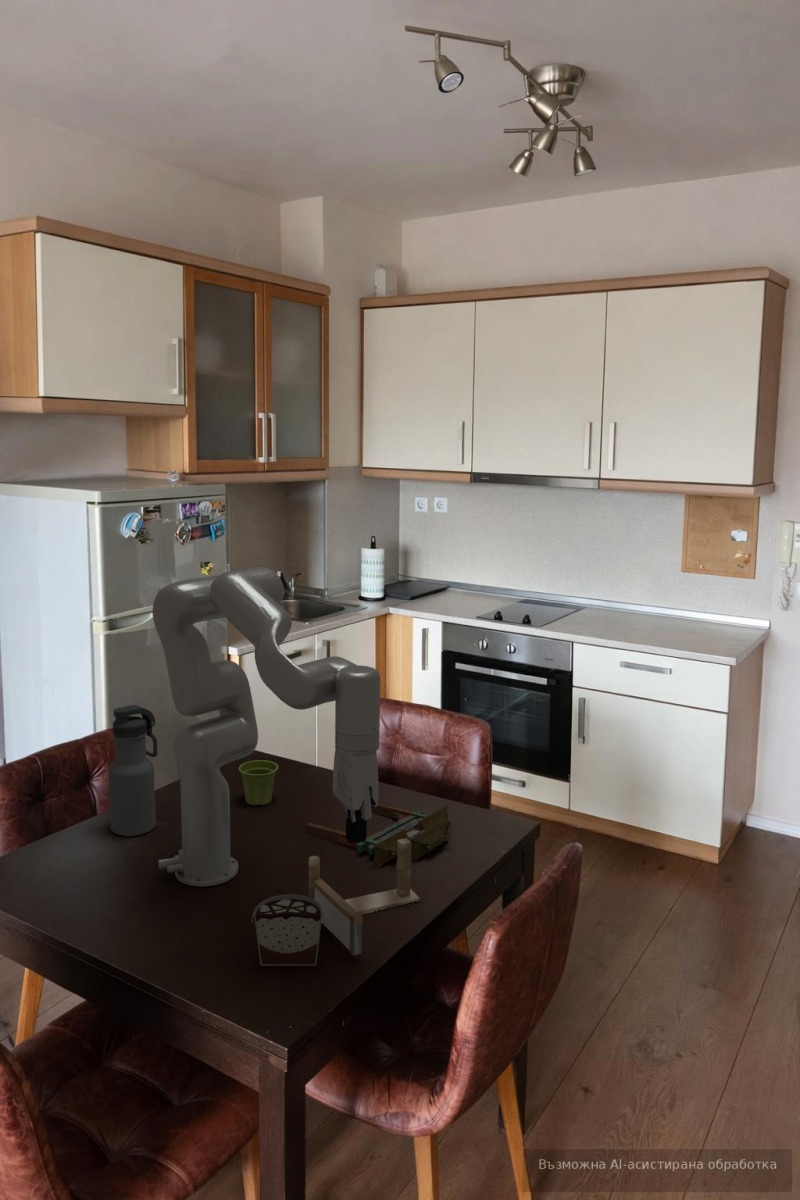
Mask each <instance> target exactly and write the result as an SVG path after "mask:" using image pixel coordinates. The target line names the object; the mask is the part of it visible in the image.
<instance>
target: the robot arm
mask: <svg viewBox="0 0 800 1200" xmlns="http://www.w3.org/2000/svg"><path fill="white" fill-rule="evenodd" d="M284 593H285V587H284V584H283V581H282V579H281V578H280V576H279V575H278V574H277V572H275V571H274V570H272V569H271V568H269V567H266V566H255V567H254V566H253V567H249V568H240V569H239V568H238V569H234V570H229V571H226V572H223V573H221V574H216V575H211V576H204V577H203V576H202V577H196V578H187V579H184V580H180V581H179V580H178V581H175V582H172V583H170V584H167V585H165V586H163V587H162V588H161V589H160V590H159V591H158V592H157V594H156V595H155V597H154V600H153V604H152V620H153V625H154V627H155V629H156V633H157V635H158V638H159V640H160V643H161V645H162V649H163V652H164V657H165V664H166V669H167V676H168V681H169V685H170V691H171V695H172V700H173V705H174V706H175V709H176V710H177V712H178V713H179V714H180V715H182V716H184V717H196V716H201V715H205V714H208V713H212V712H214V711H218V713H219V716H215V717H212V718H208V719H205V720H201V721H198V722H195V723H193V724H190V725H187V726H186V727H185V728H183V729H182V730H181V731H179V733H178V734H177V735H176V737H175V739H174V742H173V749H174V750H173V751H174V757H175V761H176V765H177V771H178V776H179V787H180V809H181V810H180V812H181V814H180V816H181V818H180V820H181V847H182V849H178V854H177V855H176V854H175V855H174V856H173V857H171V858H167V857H166V858H161V859H158V862H157V863H158V869H159V870H165V869H166V871H167V873H174V875H175V879H177V880H178V882H180V883H182V884H185V885H187V886H192V887H211V886H212V887H214V886H218V885H221V884H223V883H227V882H228V881H231V880H232V879H233V878H235V877H236V876H237V875H238V873H239V862H238V861H237V859H235V858H234V857H233V856H231V855H232V854H231V805H230V804H231V801H230V799H231V798H230V788H229V787H230V786H229V783H228V782H227V779H226V778H225V777H224V775H223V774H222V772H221V770H220V768H221V767H223V766H225V765H227V764H230V763H232V762H235V761H238V760H240V759H243V758H246V757H248V756H249V755H251V754H252V753H254V751H255V750H256V748H257V746H258V741H259V729H258V725H257V717H256V713H255V712H256V711H255V706H254V703H253V702H254V701H253V696H252V690H251V686H250V681H249V679H248V677H247V674H246V672H245V670H244V669H243V668H242V666H241V665H239V664H238V663H237V662H235V661H233V660H228V659H227V660H225V659H222V660H216V661H214V662H212V660H211V659H212V658H211V655H210V647H209V644H208V642H207V640H206V638H205V637H204V635H203V634H202V633H201V631H200V630H199V629H198V628H197V627H196V626H195V624H197V623H201V622H207V621H213V620H218V619H222V618H223V619H226V620H227V621H228V622H229V623H230V624H231V625H233V627H234V628H236V630H237V631H238V632H240V634H241V635H242V636H243V637H244V638H245V639H246V640H247V641H249V643H250V644H252V645H253V646H254V662H255V665H256V670H257V673H258V674H259V677H260V679H261V681H262V682H263V683H264V685H265V687H267V688H268V689H269V690H270V691H271V692H272V693H273V694H274V695H275V696H276V697H277V698H278V699H279V700H280V701H281V702H283V703H284V704H285V705H287V706H288V707H289V708H292V709H295V710H300V711H303V710H307V709H308V710H309V709H311V708H315V707H317V706H320V705H322V704H326V703H331V702H335V705H334V706H335V708H334V709H335V710H334V711H335V712H334V713H335V714H334V715H335V720H334V721H335V722H334V727H335V728H334V733H335V735H334V749H335V751H334V756H333V769H332V770H333V772H332V793H333V794H334V796H335V798H337V799H338V800H339V802H341V803H342V804H343V806H344V814H345V817H346V818H345V832H346V839H347V840H348V842H349V843H355V842H361V841H365V840H366V836H367V824H368V823H367V821H368V820H369V819H372V816H373V813H372V811H371V807H372V808H375V807H376V806H377V804H378V803H379V767H378V765H379V764H378V755H377V754H378V753H377V751H378V750H380V728H381V726H380V723H381V720H380V719H381V674H380V672H379V671H378V670H377V669H376V668H375V667H371V666H366V665H357V664H356V663H354V662H351V661H350V660H348V659H346V658H343V657H340V656H328V657H324V658H320V659H315V660H312V661H308V662H305V663H301V664H296V663H295V662H294V661H293V660H291V659H290V658H289V657H288V655H286V654H285V653H284V651H283V650H281V648H280V645H281V644H283V642H284V641H285V640H286V638H287V637H288V636H289V634H290V632H291V630H292V625H293V618H292V616H291V614H290V613H289V612H288V611H287V610H286V609H285V608H283V606H281V605H280V604H281V603H282V601H283V599H284V595H285V594H284Z"/></svg>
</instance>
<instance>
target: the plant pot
mask: <svg viewBox="0 0 800 1200" xmlns="http://www.w3.org/2000/svg"><path fill="white" fill-rule="evenodd" d="M278 770H279V765H278V764H277V763H276V762H274V761H270V760H264V759H263V760H262V759H260V760H259V759H258V760H251V761H245V762H243V763H241V764H240V765H239V766H238V771H239V772H240V776H241V778H242V785H243V791H244V796H245V797H244V799H245V802H246V803H247V804H248V805H250V806H258V805H260V806H266V805H268V804H269V803H271V802H272V799H273V798H272V797H273V790H274V784H275V776H276V774H277V771H278Z"/></svg>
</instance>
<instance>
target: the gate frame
mask: <svg viewBox="0 0 800 1200" xmlns="http://www.w3.org/2000/svg"><path fill="white" fill-rule="evenodd" d="M320 860H321V857H320V856H319V855H318V856H317V855H311V856H309V857H308V897H310V898H312V899H314V900H315V887H314V886H313V881H315V880H318V879H321V875H320V873H321V861H320ZM411 871H412V863H411V842H410V841H409V840H408V839H407V838H405V839H400V840H397V857H396V887H395V888H394V889H389V890H386V891H385V890H384V891H380V892H379V891H378V892H376V893H370V894H365V895H361V896H356V897H351V898H347V899H344V900H345V901H346V902H347V903H348V904H349V905H350V906H351V907H353V908H354V909H355V910H356V911H357V912H358V913H359V914H360V915H361V916H363V915H367V914H371V913H375V911H376V912H379V911H378V910H381V911H385V910H388V909H387V908H390V909H392V908H391V907H394V908H396V907H395V906H399V905H403V904H407V903H410V902H414V901H418V900H420V899H421V898H420V897H419V896H418V895H417V894H416V892H415V891H413V890H412V888H411V875H412V872H411ZM399 907H400V906H399ZM384 909H385V910H384ZM322 924H323V923H322V922H321V925H322Z"/></svg>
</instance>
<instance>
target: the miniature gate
mask: <svg viewBox="0 0 800 1200" xmlns="http://www.w3.org/2000/svg"><path fill="white" fill-rule="evenodd" d="M448 810H449V804H446V805H445V806H443V807H441V808H440V809H438V810H436V811H434V812H433V813H427V814H425V813H424V811H420V810H418V811H413V810H409V809H405V808H401V807H396V806H392V805H387V804H383V803H379V802H378V804H377V806H376V807H375V808H372V807H371V811H372V814H375V815H379V816H383V817H387V818H391V819H395V821H393V824H391V825H389V826H386V827H385V828H383V829H382V830H380V831H378V832H376V831H375V832H374V833H373V834H366V840H365V841H361V842H355V843H349V842H348V840H347V839H346V831H342V830H339V829H335V828H331V827H327V826H324V825H319V824H316V823H313V822H308V823H306V824H305V832H306V833H309V834H311V835H314V836H315V837H316V836H317V837H320V838H322V839H325V840H328V841H330V842H333V843H336V844H339V845H345V846H347V847H352V848H354V849H356V852H359V853H362V852H364V851H366V852H368V854H369V856H373V861H374V862H373V863H374V864H373V865H374V869H380V868H381V867H382V866H383V865H385V864H386V863H389V862H390V861H392V860H393V859H395V858H397V857H396V856H397V840H400V839H405V838H407V839H408V840H409V841H410V842H411V862H414V863H415V862H416V861H417V860H419V859H421V858H423V857H424V856H425V854H426V853H427V854H429V853H430V851H431V850H432V851H434V850H436V849H437V848H439V847H440V846H442V845H443V844H442V843H444V842H445V843H448V842H447V841H448V840H451V836H450V835H448V834H447V833H448V828H449V826H451V825H452V822H451V821H449V818H448ZM396 820H397V821H396ZM447 825H448V826H447ZM445 843H444V844H445ZM441 844H442V845H441ZM439 845H440V846H439ZM438 846H439V847H438ZM436 847H437V848H436ZM433 849H434V850H433ZM432 851H431V852H432ZM428 852H429V853H428ZM427 854H426V855H427ZM423 855H424V856H423ZM420 857H421V858H420ZM418 858H419V859H418ZM391 859H392V860H391Z"/></svg>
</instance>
